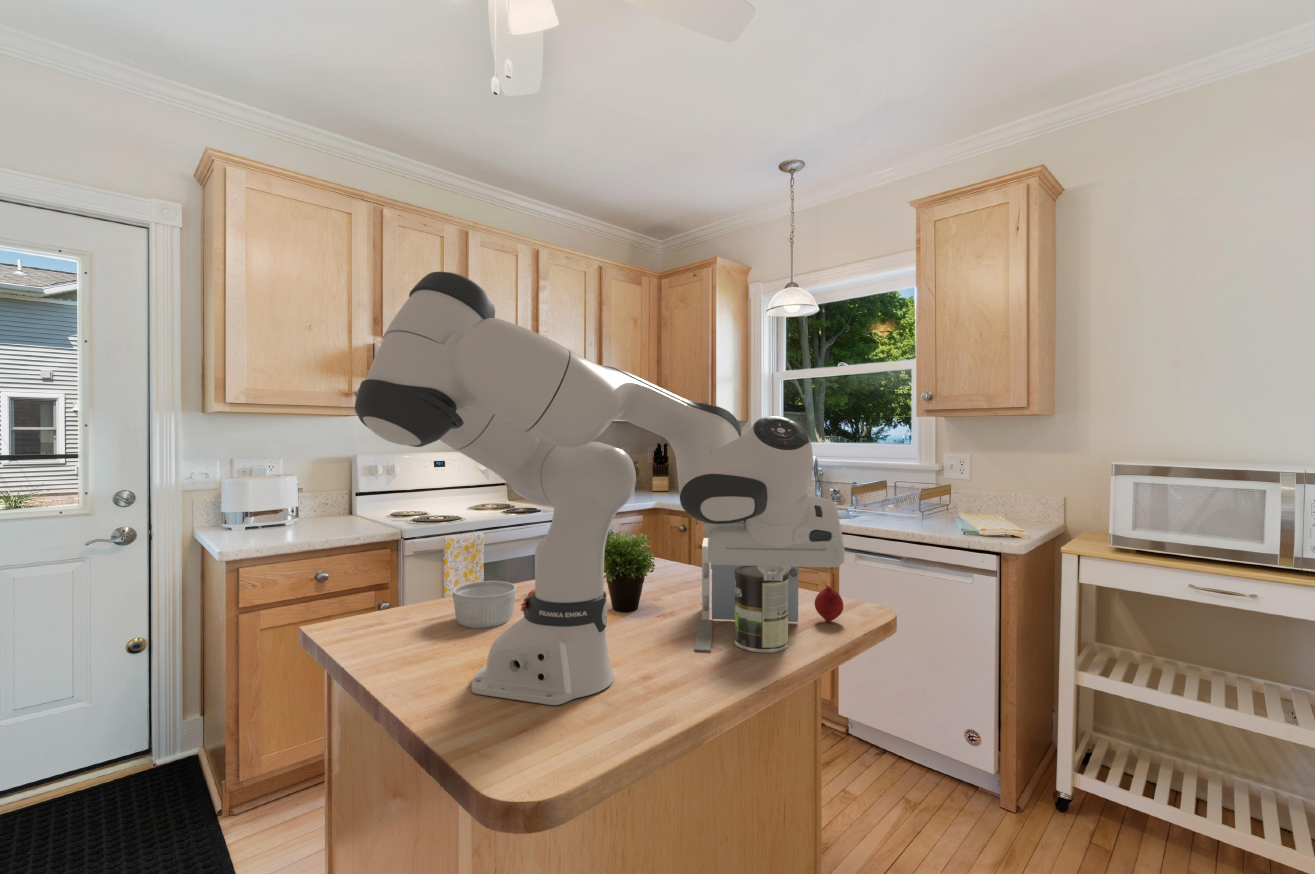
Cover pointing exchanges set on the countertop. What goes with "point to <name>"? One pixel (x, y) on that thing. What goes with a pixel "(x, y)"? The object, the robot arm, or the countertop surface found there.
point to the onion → (829, 603)
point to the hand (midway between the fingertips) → (772, 577)
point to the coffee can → (760, 611)
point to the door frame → (705, 606)
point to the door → (726, 592)
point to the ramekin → (484, 603)
